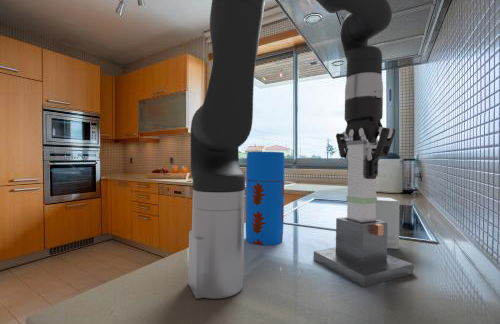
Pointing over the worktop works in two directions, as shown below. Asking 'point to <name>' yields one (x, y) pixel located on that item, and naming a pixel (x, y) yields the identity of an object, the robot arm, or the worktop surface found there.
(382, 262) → the stand base
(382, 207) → the supplement box
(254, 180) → the thermos
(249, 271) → the worktop surface
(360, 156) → the column
